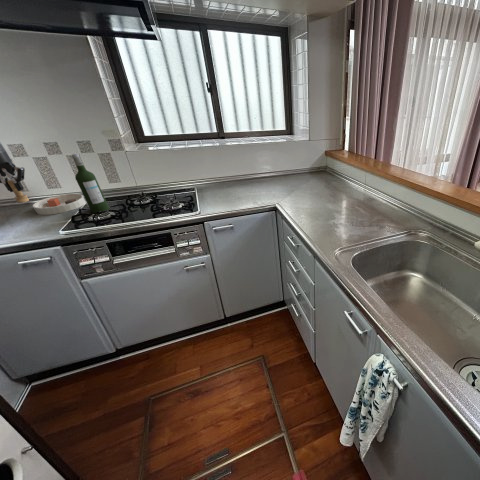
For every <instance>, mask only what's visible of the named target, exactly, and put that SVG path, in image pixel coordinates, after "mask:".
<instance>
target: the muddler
mask: <svg viewBox="0 0 480 480" xmlns="http://www.w3.org/2000/svg"><path fill="white" fill-rule="evenodd" d="M7 182H8V184H9V186H10V187H11V189H12V190H13V192H12V193H14V195H15V196H14V197H13V198H14V200H15V201H16V203H18V204H23V203H27V202H29V201H30V199H29V197H28V195H27V194H24V192H22V191H18V190H17V188H16V186H15V185H14V182H13V181H12V180H11V179H8V180H7Z"/></svg>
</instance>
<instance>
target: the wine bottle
mask: <svg viewBox="0 0 480 480" xmlns="http://www.w3.org/2000/svg"><path fill="white" fill-rule="evenodd" d="M71 158H72V159H73V161H74V163H75V166H76V169H77V173H75V177H74V178H75V181H76V182H77V184H78V185H77V186H78V187H79V189H80V191H81V193H82V195H83V197H84V199H85V201H86V204H87V205H88V208H89V210H90V212H91V213H92V214H97V213H96V212H99V211H104V210H108V211H109V210H110V206H109V204H108V202H107V200H106V197H105V195H104V193H103V191H102V189H101V186H100V184H99V181H98V179H97V177H96V175H95V174H94V173H93V172H91V171H89V170H87V169H86V167H85V165H84V163H83V161H82V159H81V158H80V155H79V154H78V153H72V154H71Z"/></svg>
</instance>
